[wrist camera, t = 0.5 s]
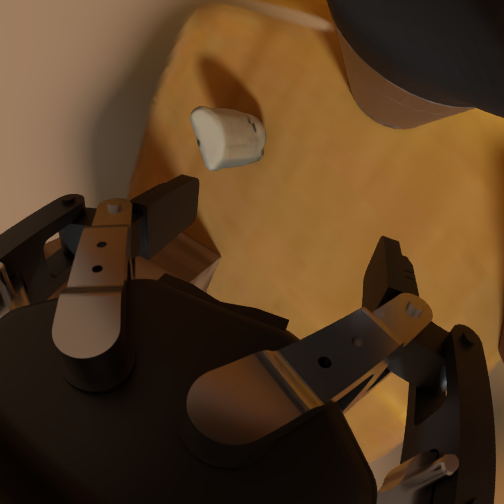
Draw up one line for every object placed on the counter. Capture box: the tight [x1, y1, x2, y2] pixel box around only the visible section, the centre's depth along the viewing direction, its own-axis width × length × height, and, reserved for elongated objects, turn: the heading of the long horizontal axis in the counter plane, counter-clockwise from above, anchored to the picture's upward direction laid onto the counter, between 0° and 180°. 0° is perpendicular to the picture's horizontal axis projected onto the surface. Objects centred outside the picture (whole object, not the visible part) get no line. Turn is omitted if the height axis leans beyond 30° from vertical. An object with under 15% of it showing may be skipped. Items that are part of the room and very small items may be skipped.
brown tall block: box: [44, 232, 221, 300], centre depth 24 cm, size 12×13×34 cm
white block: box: [190, 106, 266, 171], centre depth 26 cm, size 6×5×8 cm
